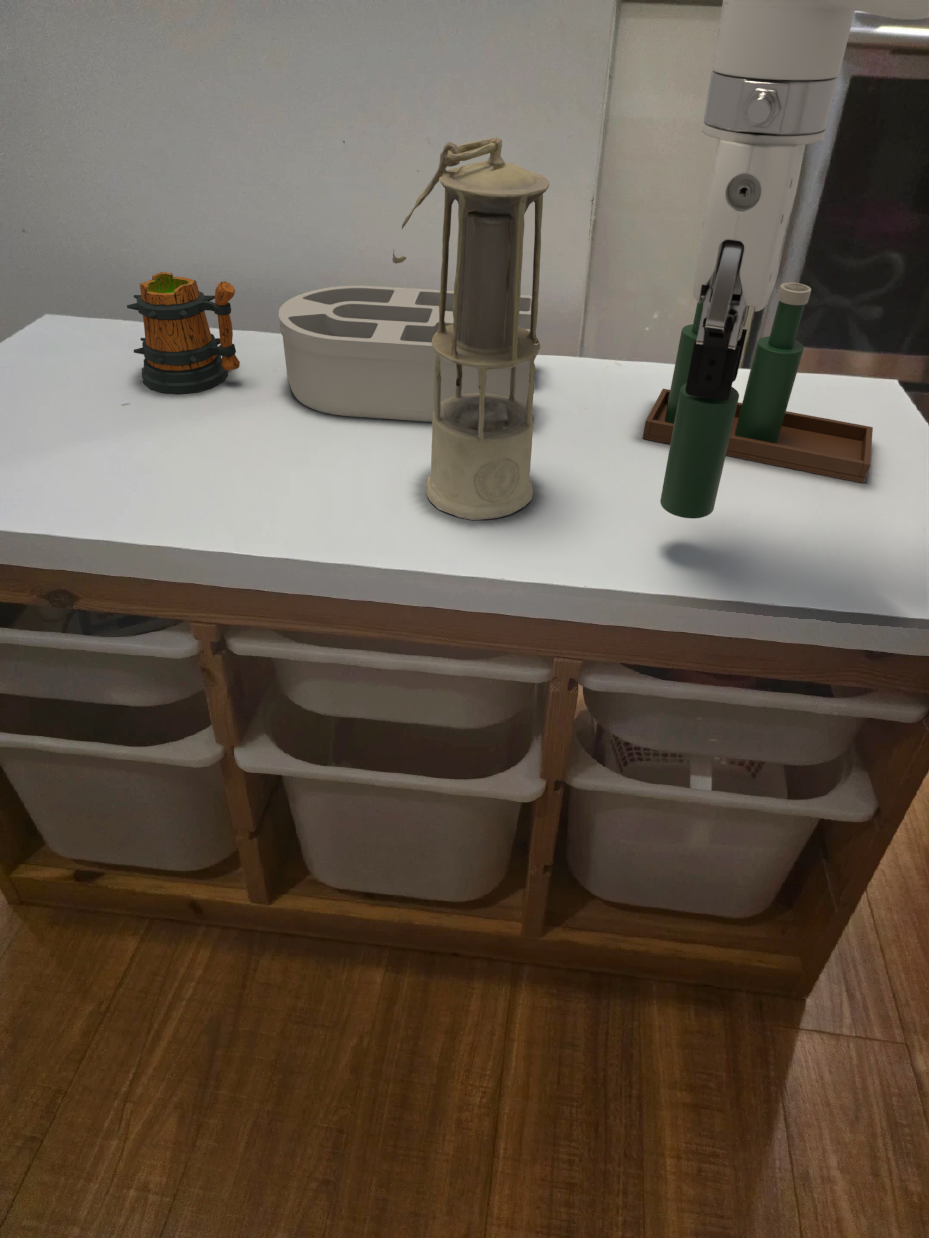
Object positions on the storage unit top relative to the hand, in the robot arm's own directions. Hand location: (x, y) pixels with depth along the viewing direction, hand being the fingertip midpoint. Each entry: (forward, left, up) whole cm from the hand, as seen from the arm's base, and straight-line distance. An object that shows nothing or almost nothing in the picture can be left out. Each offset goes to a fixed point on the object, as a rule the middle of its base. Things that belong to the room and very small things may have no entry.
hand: (711, 385), depth 65 cm
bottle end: (-7, -23, -15) cm, 28 cm away
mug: (+46, -37, -15) cm, 61 cm away
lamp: (+17, -11, -15) cm, 26 cm away
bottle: (0, 0, -10) cm, 10 cm away
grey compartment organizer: (+22, -33, -15) cm, 43 cm away
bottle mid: (-14, -19, -15) cm, 28 cm away
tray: (-14, -19, -15) cm, 28 cm away
